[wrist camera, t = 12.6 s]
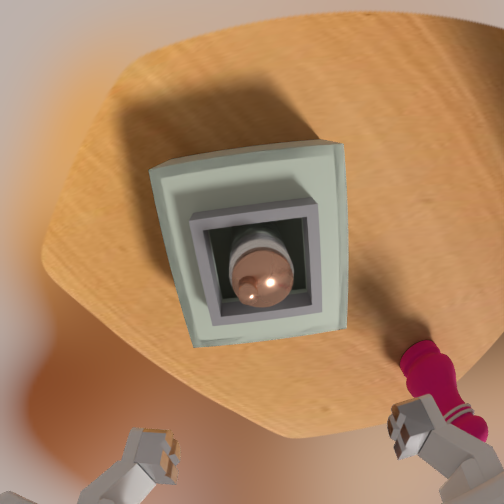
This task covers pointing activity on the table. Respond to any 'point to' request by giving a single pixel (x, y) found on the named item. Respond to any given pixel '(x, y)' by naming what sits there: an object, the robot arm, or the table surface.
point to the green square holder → (249, 212)
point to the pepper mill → (440, 386)
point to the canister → (259, 264)
